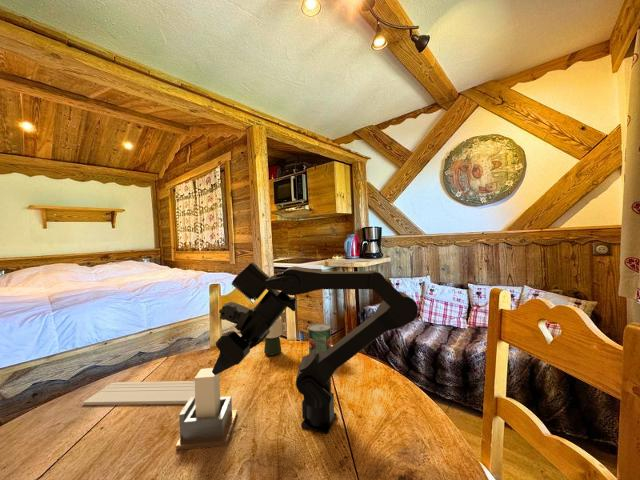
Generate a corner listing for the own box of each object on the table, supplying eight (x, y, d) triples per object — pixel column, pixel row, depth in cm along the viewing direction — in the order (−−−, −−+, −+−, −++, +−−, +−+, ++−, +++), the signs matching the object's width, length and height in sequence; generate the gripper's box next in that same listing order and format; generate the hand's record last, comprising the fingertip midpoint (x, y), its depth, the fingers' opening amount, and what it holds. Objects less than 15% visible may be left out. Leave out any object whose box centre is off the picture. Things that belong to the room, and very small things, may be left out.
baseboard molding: (118, 382, 82) (83, 408, 70) (118, 373, 82) (82, 397, 70) (219, 381, 82) (200, 406, 70) (218, 371, 82) (200, 395, 70)
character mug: (289, 349, 102) (288, 315, 102) (285, 357, 95) (284, 321, 95) (261, 348, 103) (260, 315, 103) (255, 357, 96) (254, 321, 96)
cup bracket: (237, 413, 65) (236, 389, 65) (226, 445, 55) (225, 416, 55) (194, 417, 64) (193, 392, 64) (176, 450, 55) (175, 420, 54)
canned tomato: (304, 356, 95) (304, 326, 95) (323, 351, 100) (322, 321, 99) (316, 365, 89) (315, 332, 88) (336, 359, 93) (335, 327, 93)
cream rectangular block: (220, 419, 62) (219, 367, 62) (215, 431, 58) (213, 376, 58) (202, 420, 62) (201, 368, 62) (196, 433, 58) (194, 377, 58)
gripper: (254, 285, 72) (217, 330, 72) (222, 295, 53) (172, 355, 54) (285, 313, 71) (248, 358, 71) (263, 333, 52) (213, 394, 52)
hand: (223, 364), depth 62 cm, fingers open, 9 cm apart
